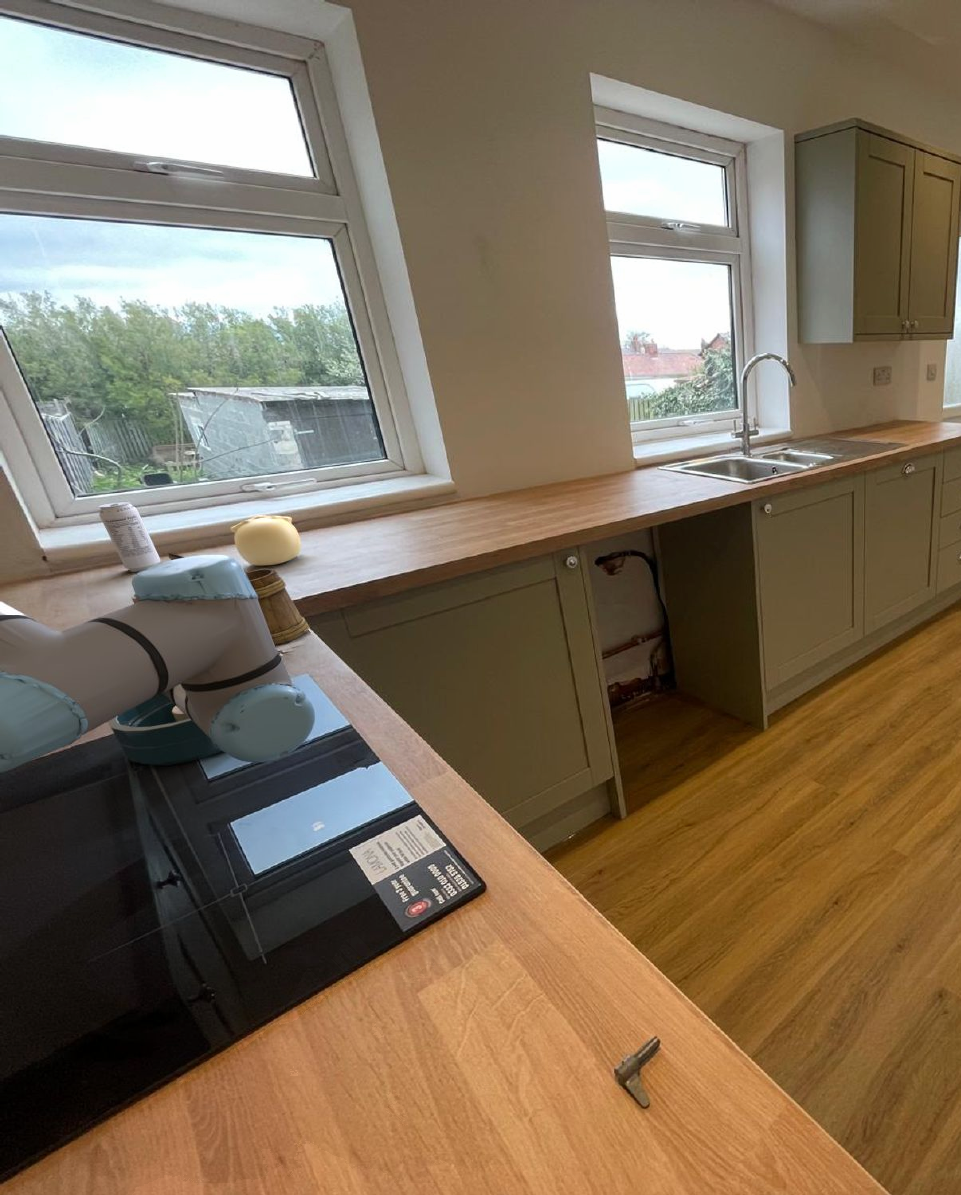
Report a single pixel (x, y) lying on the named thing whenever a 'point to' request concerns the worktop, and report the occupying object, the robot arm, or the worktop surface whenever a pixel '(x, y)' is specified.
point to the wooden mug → (274, 605)
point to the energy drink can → (129, 535)
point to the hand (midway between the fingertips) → (157, 635)
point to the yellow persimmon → (267, 540)
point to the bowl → (160, 735)
